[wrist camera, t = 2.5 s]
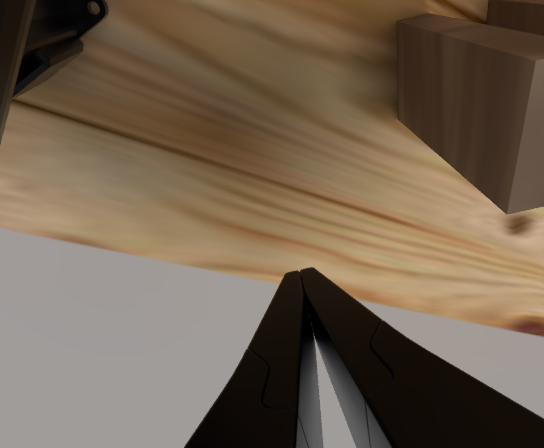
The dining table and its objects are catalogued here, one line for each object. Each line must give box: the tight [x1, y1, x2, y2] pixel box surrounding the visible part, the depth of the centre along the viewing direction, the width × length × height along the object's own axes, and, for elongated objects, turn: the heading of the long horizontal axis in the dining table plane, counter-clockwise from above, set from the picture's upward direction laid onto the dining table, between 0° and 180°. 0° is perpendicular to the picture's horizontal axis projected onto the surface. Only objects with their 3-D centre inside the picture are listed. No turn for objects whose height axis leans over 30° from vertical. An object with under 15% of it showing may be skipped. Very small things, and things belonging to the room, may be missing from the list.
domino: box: [397, 13, 544, 214], centre depth 15 cm, size 2×5×10 cm, turn 11°
